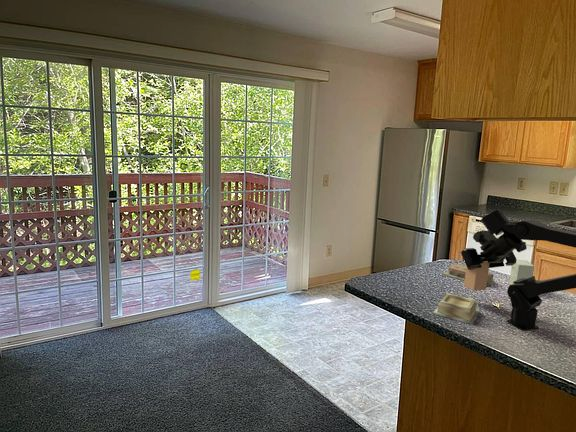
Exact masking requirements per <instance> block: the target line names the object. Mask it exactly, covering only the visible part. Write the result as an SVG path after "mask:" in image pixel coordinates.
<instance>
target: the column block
mask: <svg viewBox="0 0 576 432" xmlns="http://www.w3.org/2000/svg"><path fill="white" fill-rule="evenodd" d="M489 264H490V263H488V262H483V263H482V264H481V266H482V268H476V269H471V270H468V268H467V266H466V265H465V266H466V273H465V281H463V282H464V283H463V286H464V287H466V288H468V289H470V290H471V291H473V292H474V291H485V290H487V289H486V288H487V286H486V285H487V278H488V273H489V271H490V270H489V269H490V268H489Z"/></svg>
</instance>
